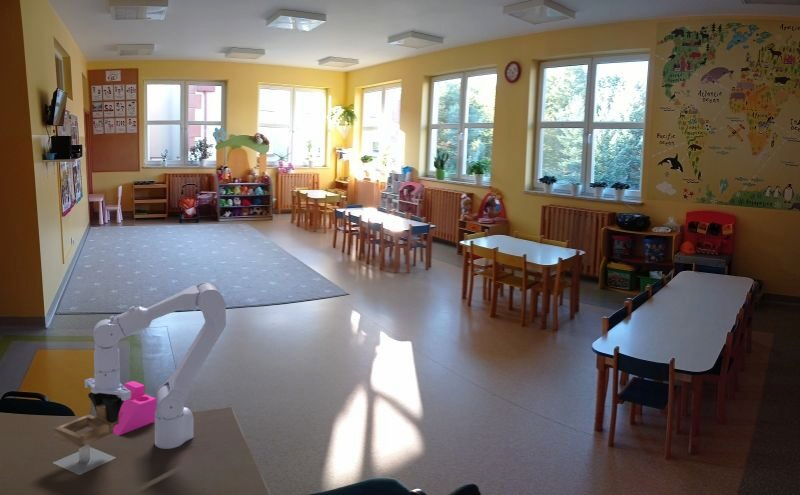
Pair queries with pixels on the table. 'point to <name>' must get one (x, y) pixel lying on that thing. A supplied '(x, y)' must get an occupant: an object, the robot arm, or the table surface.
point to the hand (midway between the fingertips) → (107, 420)
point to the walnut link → (97, 423)
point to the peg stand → (84, 460)
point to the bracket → (135, 409)
